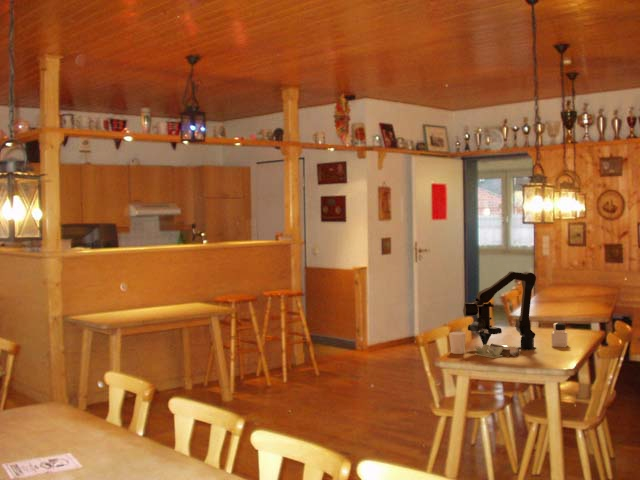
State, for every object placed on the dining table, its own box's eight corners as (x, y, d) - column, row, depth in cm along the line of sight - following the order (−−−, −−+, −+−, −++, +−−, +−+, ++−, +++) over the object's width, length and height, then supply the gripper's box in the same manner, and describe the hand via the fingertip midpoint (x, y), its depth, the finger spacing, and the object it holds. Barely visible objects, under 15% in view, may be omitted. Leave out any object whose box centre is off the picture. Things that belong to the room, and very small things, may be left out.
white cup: (465, 354, 382) (465, 334, 382) (449, 354, 384) (449, 334, 383) (465, 351, 390) (465, 332, 389) (450, 351, 391) (449, 331, 391)
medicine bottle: (567, 345, 399) (567, 322, 399) (565, 347, 393) (565, 324, 393) (553, 344, 402) (553, 321, 402) (551, 346, 396) (551, 323, 396)
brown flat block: (506, 352, 385) (505, 345, 385) (519, 354, 378) (519, 347, 378) (494, 354, 380) (494, 347, 380) (508, 356, 373) (507, 349, 373)
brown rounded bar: (489, 352, 386) (489, 343, 386) (495, 351, 389) (495, 342, 388) (512, 356, 374) (512, 347, 374) (518, 356, 376) (518, 346, 376)
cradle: (485, 352, 385) (485, 344, 385) (503, 356, 375) (503, 347, 375) (474, 354, 381) (474, 346, 381) (492, 358, 371) (492, 349, 371)
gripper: (459, 315, 394) (460, 345, 395) (486, 319, 379) (487, 350, 379) (475, 313, 400) (475, 342, 401) (502, 316, 385) (502, 347, 386)
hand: (484, 345), depth 392 cm, fingers closed
